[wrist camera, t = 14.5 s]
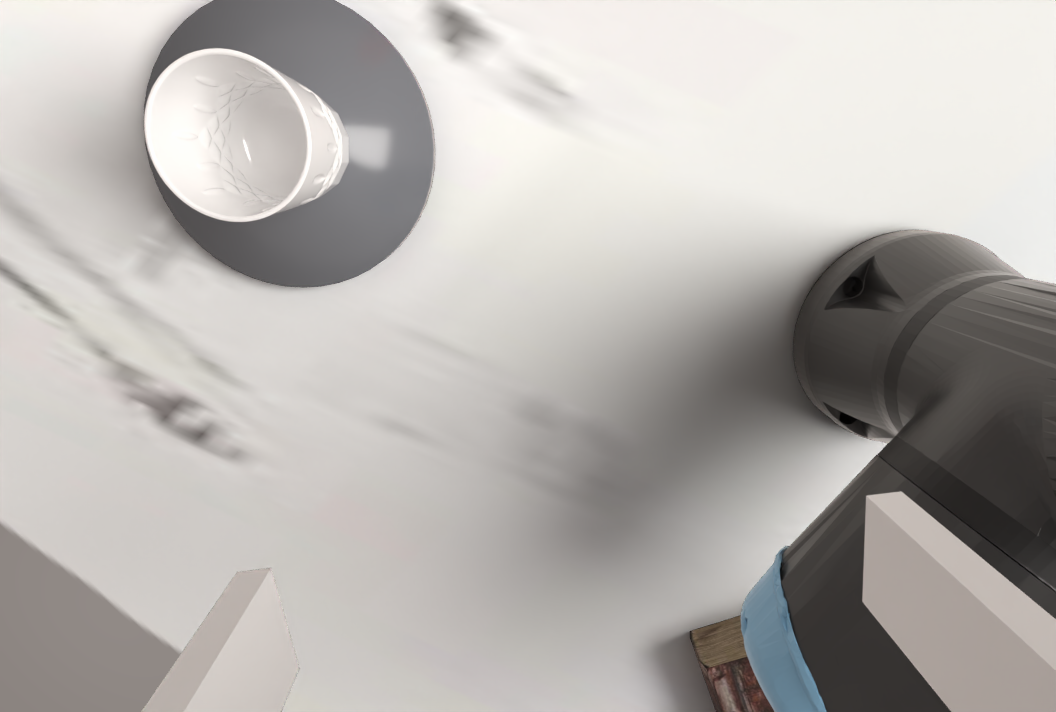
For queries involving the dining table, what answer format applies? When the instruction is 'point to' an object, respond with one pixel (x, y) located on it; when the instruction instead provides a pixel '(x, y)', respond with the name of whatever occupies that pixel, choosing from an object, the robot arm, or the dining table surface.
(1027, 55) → the dining table surface
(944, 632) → the robot arm
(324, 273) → the slate plate
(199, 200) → the white cup
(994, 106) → the dining table surface
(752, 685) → the hardback book
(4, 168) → the dining table surface
